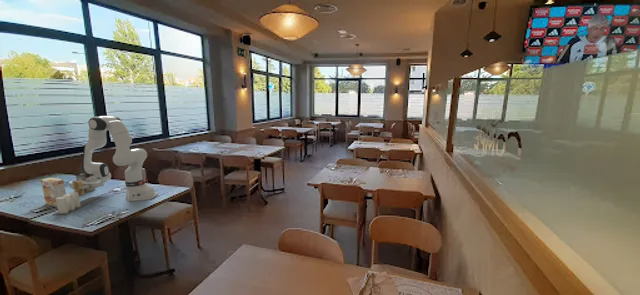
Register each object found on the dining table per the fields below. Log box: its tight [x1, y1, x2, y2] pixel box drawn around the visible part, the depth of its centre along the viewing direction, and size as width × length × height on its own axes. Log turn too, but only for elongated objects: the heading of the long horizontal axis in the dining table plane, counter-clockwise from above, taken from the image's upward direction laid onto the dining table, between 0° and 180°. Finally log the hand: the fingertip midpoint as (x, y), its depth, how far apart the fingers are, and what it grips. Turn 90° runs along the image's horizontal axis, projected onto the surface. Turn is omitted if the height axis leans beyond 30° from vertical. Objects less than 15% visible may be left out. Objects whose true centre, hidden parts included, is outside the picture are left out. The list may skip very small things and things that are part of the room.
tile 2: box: [68, 191, 81, 207], centre depth 195 cm, size 5×2×11 cm, turn 92°
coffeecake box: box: [40, 177, 67, 207], centre depth 201 cm, size 15×7×20 cm, turn 69°
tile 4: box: [56, 197, 69, 213], centre depth 185 cm, size 5×2×11 cm, turn 92°
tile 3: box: [63, 194, 75, 210], centre depth 190 cm, size 5×2×11 cm, turn 92°
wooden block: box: [72, 180, 85, 197], centre depth 198 cm, size 5×2×11 cm, turn 92°
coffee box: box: [75, 172, 97, 194], centre depth 227 cm, size 9×6×16 cm
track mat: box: [52, 196, 103, 216], centre depth 199 cm, size 10×34×1 cm, turn 2°
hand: (77, 187), depth 197 cm, fingers closed on wooden block, 5 cm apart
